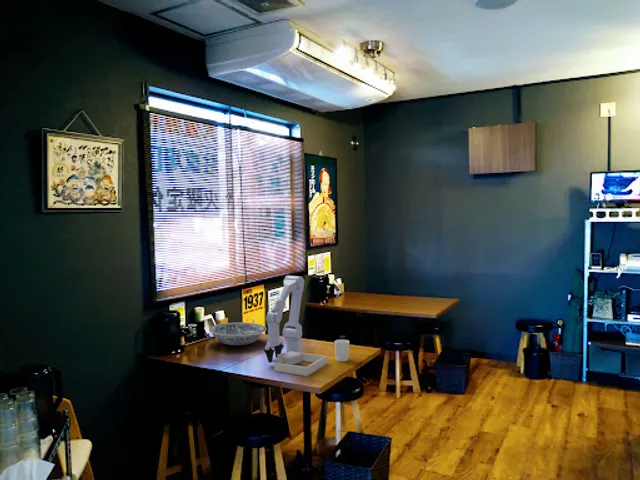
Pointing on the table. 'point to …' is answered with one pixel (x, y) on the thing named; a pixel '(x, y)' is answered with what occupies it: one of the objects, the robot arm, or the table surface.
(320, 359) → the box
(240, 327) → the ceramic bowl
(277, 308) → the robot arm
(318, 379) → the table surface
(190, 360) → the table surface
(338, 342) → the white cup
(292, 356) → the charger
